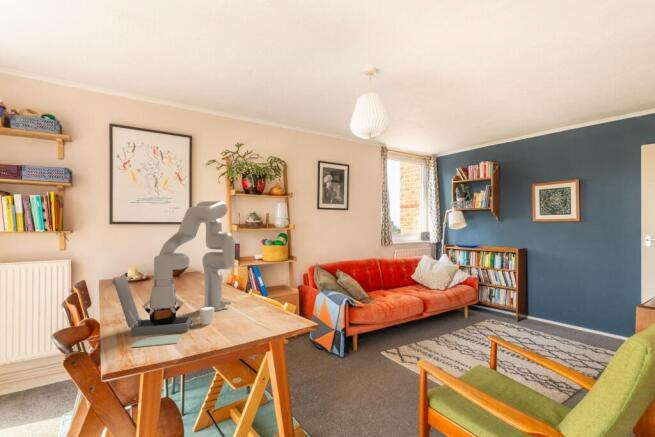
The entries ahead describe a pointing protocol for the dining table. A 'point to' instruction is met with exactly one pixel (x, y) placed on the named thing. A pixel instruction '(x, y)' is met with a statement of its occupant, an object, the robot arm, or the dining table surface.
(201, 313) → the shot glass
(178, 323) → the case
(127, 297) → the case lid
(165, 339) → the rubber mat
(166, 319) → the battery
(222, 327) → the dining table surface
